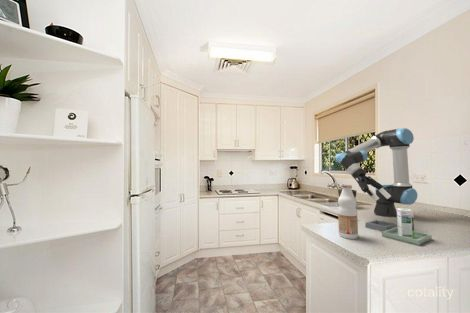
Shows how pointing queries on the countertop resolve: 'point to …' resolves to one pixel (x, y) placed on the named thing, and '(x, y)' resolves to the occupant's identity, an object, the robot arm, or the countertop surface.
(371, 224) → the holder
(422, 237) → the tray
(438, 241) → the countertop surface
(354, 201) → the fruit juice
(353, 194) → the plant pot
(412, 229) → the syrup box
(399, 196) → the robot arm
